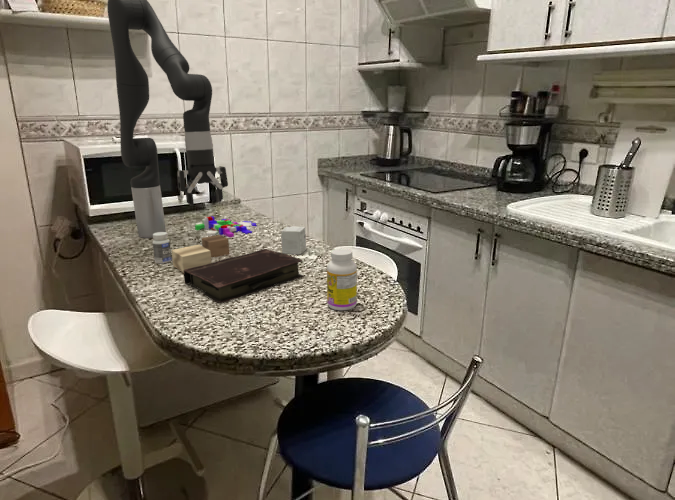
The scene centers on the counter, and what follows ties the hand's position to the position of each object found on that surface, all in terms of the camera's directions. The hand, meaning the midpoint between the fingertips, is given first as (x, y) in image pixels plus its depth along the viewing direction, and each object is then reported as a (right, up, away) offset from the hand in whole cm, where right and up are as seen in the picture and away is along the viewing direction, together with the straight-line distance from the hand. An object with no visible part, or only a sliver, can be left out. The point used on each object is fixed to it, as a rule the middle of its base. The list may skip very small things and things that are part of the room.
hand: (205, 203), depth 136 cm
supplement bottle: (+40, -27, -33) cm, 58 cm away
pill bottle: (-12, -17, -2) cm, 21 cm away
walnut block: (+2, -15, +4) cm, 16 cm away
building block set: (-2, -6, +34) cm, 35 cm away
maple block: (-2, -19, -7) cm, 20 cm away
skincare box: (+26, -14, +6) cm, 30 cm away
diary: (+15, -22, -17) cm, 32 cm away
